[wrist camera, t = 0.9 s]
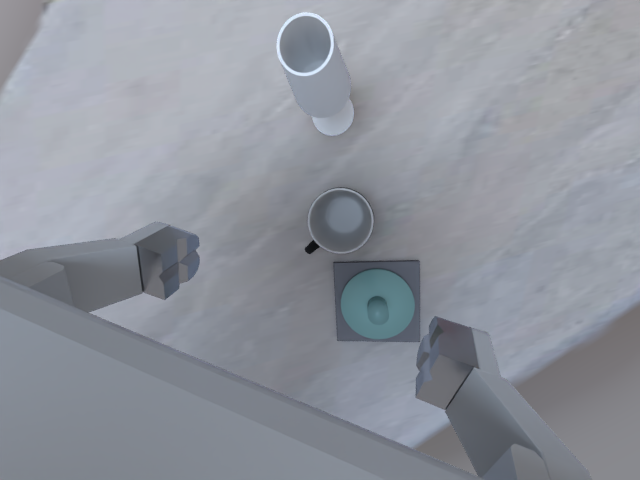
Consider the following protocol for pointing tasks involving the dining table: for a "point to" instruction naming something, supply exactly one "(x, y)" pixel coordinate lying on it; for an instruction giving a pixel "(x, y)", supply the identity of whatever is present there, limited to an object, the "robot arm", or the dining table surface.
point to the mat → (403, 268)
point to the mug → (339, 221)
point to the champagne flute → (316, 72)
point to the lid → (377, 303)
